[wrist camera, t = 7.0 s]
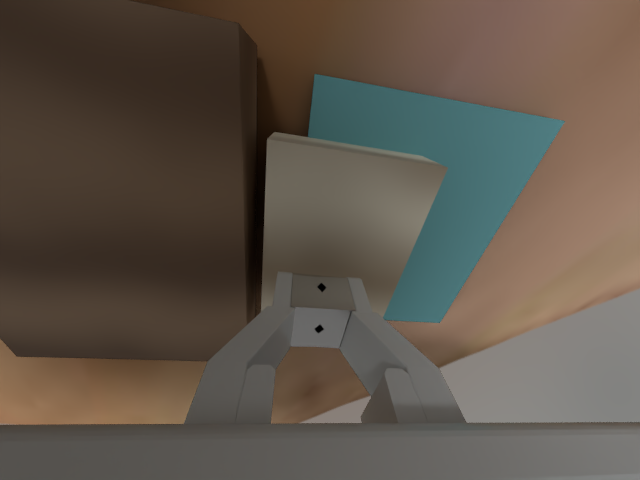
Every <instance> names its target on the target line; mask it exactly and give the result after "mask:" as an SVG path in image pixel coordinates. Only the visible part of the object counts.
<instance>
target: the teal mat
mask: <svg viewBox="0 0 640 480" xmlns="http://www.w3.org/2000/svg"><path fill="white" fill-rule="evenodd" d="M564 122H565V121H562V120H557V119H551V118H546V117H541V116H535V115H530V114H525V113H520V112H514V111H509V110H504V109H498V108H493V107H488V106H482V105H477V104H472V103H467V102H461V101H456V100H451V99H445V98H440V97H435V96H429V95H424V94H419V93H414V92H408V91H403V90H398V89H392V88H387V87H382V86H376V85H371V84H366V83H361V82H355V81H350V80H345V79H339V78H334V77H329V76H323V75H318V74H315V75H314V84H313V93H312V102H311V112H310V121H309V130H308V137H309V138H316V139H322V140H328V141H334V142H340V143H346V144H352V145H358V146H364V147H371V148H377V149H383V150H389V151H395V152H401V153H407V154H413V155H420V156H423V157H425V158H428V159H430V160H432V161H434V162H437V163H439V164H441V165H443V166H445V167H448V169H447V172H446V174H445V176H444V179H443V181H442V183H441V186H440V188H439V190H438V192H437V195H436V197H435V199H434V202H433V204H432V206H431V208H430V211H429V213H428V215H427V218H426V220H425V222H424V224H423V227H422V229H421V231H420V234H419V236H418V238H417V241H416V243H415V245H414V247H413V250H412V252H411V254H410V257H409V259H408V261H407V263H406V266H405V268H404V270H403V273H402V275H401V277H400V279H399V282H398V284H397V286H396V289H395V291H394V293H393V296H392V298H391V300H390V302H389V305H388V307H387V309H386V312H385V314H384V316H383V319H384V320H394V321H414V322H433V323H440V322H441V320H442V319H443V317H444V315H445V314H446V312H447V311H448V309H449V307H450V306H451V304H452V302H453V301H454V299H455V298H456V296H457V294H458V293H459V291H460V290H461V288H462V286H463V285H464V283H465V282H466V280H467V278H468V277H469V275H470V273H471V272H472V270H473V269H474V267H475V265H476V264H477V262H478V261H479V259H480V257H481V256H482V254H483V252H484V251H485V249H486V248H487V246H488V244H489V243H490V241H491V240H492V238H493V236H494V235H495V233H496V232H497V230H498V228H499V227H500V225H501V223H502V222H503V220H504V219H505V217H506V215H507V214H508V212H509V211H510V209H511V207H512V206H513V204H514V203H515V201H516V199H517V198H518V196H519V194H520V193H521V191H522V190H523V188H524V186H525V185H526V183H527V182H528V180H529V178H530V177H531V175H532V173H533V172H534V170H535V169H536V167H537V165H538V164H539V162H540V161H541V159H542V157H543V156H544V154H545V153H546V151H547V149H548V148H549V146H550V144H551V143H552V141H553V140H554V138H555V136H556V135H557V133H558V132H559V130H560V128H561V127H562V125H563V124H564Z"/></svg>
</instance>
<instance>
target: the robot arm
mask: <svg viewBox="0 0 640 480" xmlns="http://www.w3.org/2000/svg"><path fill="white" fill-rule="evenodd" d="M290 346H294V347H326V348H340V351H341V353H342V354H343V355H344V357H345V358H346V360H347V361H348V363H349V364H350V366H351V367H352V369H353V370H354V372H355V373H356V375H357V376H358V378H359V379H360V381H361V382H362V384H363V385H364V387H365V388H366V389H367V391H368V392H369V394H370V395H371V399H370V401H369V403H368V404H367V406H366V408H365V410H364V412H363V414H362V416H361V421H362V423H324V424H323V423H316V424H315V423H312V424H309V423H306V424H305V423H302V424H271V415H272V404H273V393H274V383H275V372H276V368H277V367H278V365H279V364H280V362H281V361H282V359H283V358H284V356H285V355H286V353H287V352H288V350H289V349H290ZM0 480H640V422H591V423H590V422H580V423H579V422H577V423H575V422H574V423H466V421H465V419H464V417H463V415H462V413H461V411H460V409H459V407H458V405H457V403H456V401H455V399H454V397H453V395H452V393H451V391H450V389H449V387H448V386H447V383H446V381H445V379H444V377H443V375H442V373H441V371H440V369H439V368H438V367H437V366H436V365H434V364H433V363H432V362H431V361H430V360H429V359H428V358H427V357H426V356H424V355H423V354H422V353H421V352H420V351H419V350H418V349H417V348H416V347H414V346H413V345H412V344H411V343H410V342H409V341H408V340H407V339H406V338H404V337H403V336H402V335H401V334H400V333H399V332H398V331H397V330H396V329H394V328H393V327H392V326H391V325H390V324H389V323H388V322H387V321H386V320H384V319H383V318H382V317H381V316H380V315H379V314H378V313H373V312H372V309H371V306H370V303H369V300H368V297H367V294H366V291H365V288H364V285H363V282H362V280H361V279H360V278H353V277H333V276H320V275H311V274H301V273H293V274H292V273H290V272H279V271H278V274H277V279H276V285H275V291H274V298H273V304H272V306H267V307H266V308H265V309H264V310H263V311H262V312H261V313H259V314H258V315H257V316H256V317H255V318H254V319H253V320H252V321H251V322H250V323H249V324H248V325H246V326H245V327H244V328H243V329H242V330H241V331H240V332H239V333H238V334H237V335H236V336H235V337H233V338H232V339H231V340H230V341H229V342H228V343H227V344H226V345H225V346H224V347H223V348H222V349H220V350H219V351H218V352H217V353H216V354H215V355H214V356H213V357H212V358H211V359H210V360H209V361H208V362H207V365H206V367H205V370H204V372H203V375H202V378H201V380H200V383H199V385H198V388H197V391H196V393H195V396H194V399H193V401H192V404H191V406H190V409H189V412H188V414H187V417H186V420H185V422H184V424H62V425H0Z"/></svg>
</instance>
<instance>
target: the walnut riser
mask: <svg viewBox="0 0 640 480" xmlns="http://www.w3.org/2000/svg"><path fill="white" fill-rule="evenodd" d="M256 165H257V45H256V44H255V43H254V41H253V40H252V39H251V38H250V37H249V35H248V34H247V33H246V32H245V30H244V29H243V28H242V27H241V26H240V24H239V23H236V22H231V21H226V20H221V19H217V18H212V17H207V16H202V15H197V14H193V13H188V12H183V11H178V10H173V9H169V8H164V7H159V6H154V5H149V4H145V3H140V2H135V1H130V0H0V338H1V340H2V341H3V342H4V343H5V344H6V345H7V346H8V347H9V349H10V350H11V351H12V352H13V353H14V354H15V355H16V356H20V357H60V358H100V359H140V360H180V361H209V360H210V359H211V358H212V357H213V356H214V355H215V354H216V353H217V352H218V351H219V350H220V349H222V348H223V347H224V346H225V345H226V344H227V343H228V342H229V341H230V340H231V339H232V338H233V337H235V336H236V335H237V334H238V333H239V332H240V331H241V330H242V329H243V328H244V327H245V326H246V325H248V324H249V323H250V322H251V321H252V320H253V319H254V318H255V317H256Z"/></svg>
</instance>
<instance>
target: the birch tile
mask: <svg viewBox="0 0 640 480" xmlns="http://www.w3.org/2000/svg"><path fill="white" fill-rule="evenodd" d="M447 169H448V167H445V166H443V165H441V164H439V163H437V162H434V161H432V160H430V159H428V158H425V157H423V156H420V155H413V154H407V153H401V152H395V151H389V150H383V149H377V148H371V147H364V146H358V145H352V144H346V143H340V142H334V141H328V140H322V139H316V138H309V137H303V136H297V135H291V134H285V133H279V132H274V133H273V134H272V135H271V136H270V137H269V138H268V139H267V156H266V184H265V213H264V241H263V269H262V297H261V312H262V311H263V310H264V309H265V308H266V307H267V306H272V304H273V298H274V291H275V285H276V279H277V274H278V271H279V272H290V273H292V274H293V273H301V274H311V275H320V276H333V277H353V278H360V279H361V280H362V282H363V285H364V288H365V291H366V294H367V297H368V300H369V303H370V306H371V309H372V312H373V313H378V314H379V315H380V316H381V317H382V318H383V316H384V314H385V312H386V309H387V307H388V305H389V302H390V300H391V298H392V296H393V293H394V291H395V289H396V286H397V284H398V282H399V279H400V277H401V275H402V273H403V270H404V268H405V266H406V263H407V261H408V259H409V257H410V254H411V252H412V250H413V247H414V245H415V243H416V241H417V238H418V236H419V234H420V231H421V229H422V227H423V224H424V222H425V220H426V218H427V215H428V213H429V211H430V208H431V206H432V204H433V202H434V199H435V197H436V195H437V192H438V190H439V188H440V186H441V183H442V181H443V179H444V176H445V174H446V172H447Z"/></svg>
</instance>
